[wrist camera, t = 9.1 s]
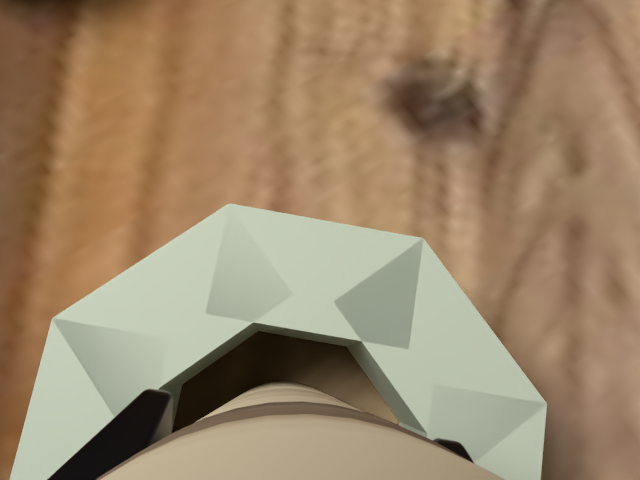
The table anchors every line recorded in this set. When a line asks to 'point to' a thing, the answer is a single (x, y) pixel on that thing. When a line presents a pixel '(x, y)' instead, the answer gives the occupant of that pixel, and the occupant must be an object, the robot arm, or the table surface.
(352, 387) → the table surface
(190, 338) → the sage ashtray
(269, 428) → the maple peg
